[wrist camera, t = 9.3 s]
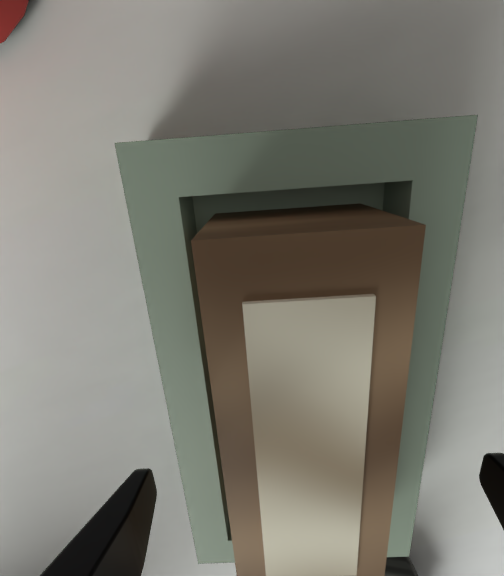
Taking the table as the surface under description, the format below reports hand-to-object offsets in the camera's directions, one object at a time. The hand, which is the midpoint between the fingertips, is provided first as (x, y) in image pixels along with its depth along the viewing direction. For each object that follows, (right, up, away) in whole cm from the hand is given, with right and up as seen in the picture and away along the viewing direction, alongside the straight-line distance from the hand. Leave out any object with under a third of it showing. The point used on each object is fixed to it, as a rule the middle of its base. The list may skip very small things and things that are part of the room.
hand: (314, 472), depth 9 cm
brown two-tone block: (0, +2, +5) cm, 5 cm away
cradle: (0, +2, +6) cm, 6 cm away
